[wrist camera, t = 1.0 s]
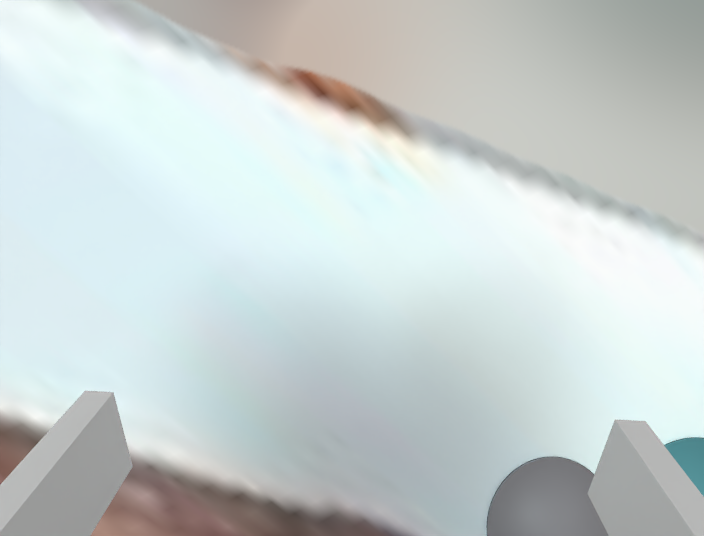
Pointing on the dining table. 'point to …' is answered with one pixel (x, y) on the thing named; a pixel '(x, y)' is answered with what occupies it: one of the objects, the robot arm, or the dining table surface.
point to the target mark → (690, 459)
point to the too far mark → (545, 501)
